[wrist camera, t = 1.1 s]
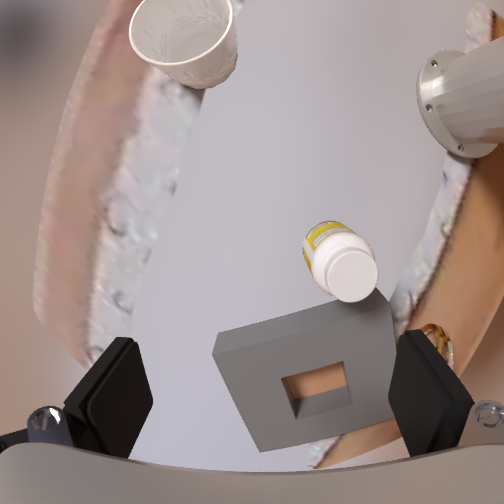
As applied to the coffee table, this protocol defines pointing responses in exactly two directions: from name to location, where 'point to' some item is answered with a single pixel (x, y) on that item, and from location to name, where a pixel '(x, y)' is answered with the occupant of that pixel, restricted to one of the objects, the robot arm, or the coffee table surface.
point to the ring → (441, 341)
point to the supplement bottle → (340, 261)
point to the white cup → (187, 39)
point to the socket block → (311, 371)
